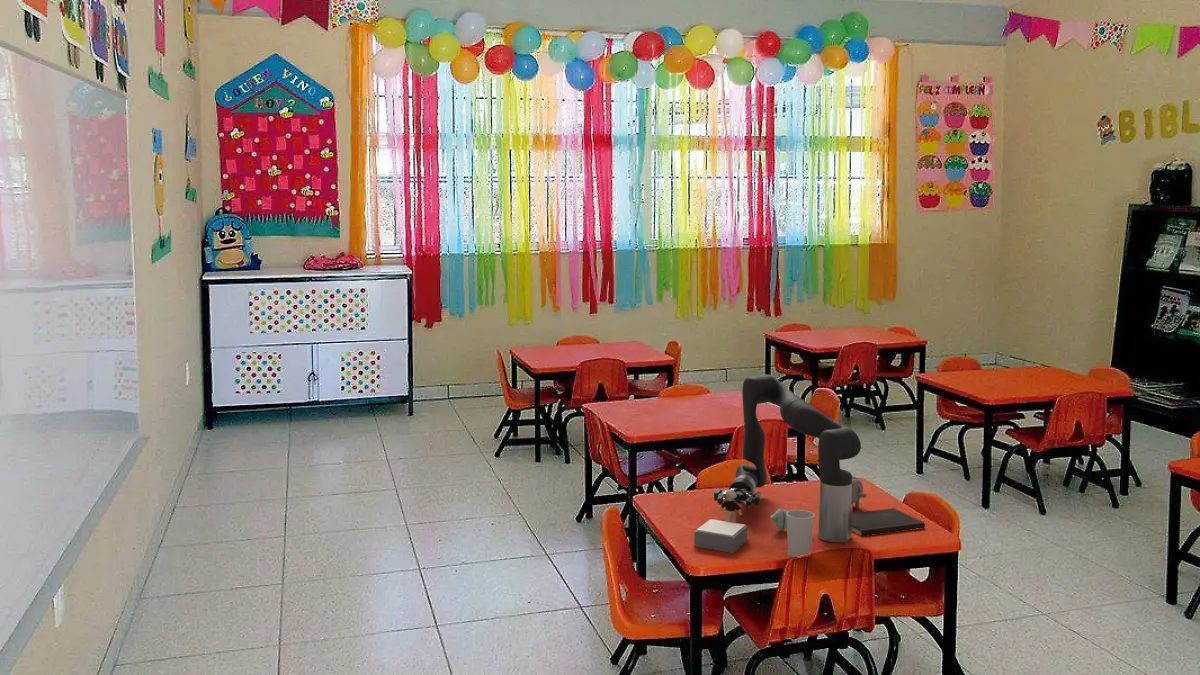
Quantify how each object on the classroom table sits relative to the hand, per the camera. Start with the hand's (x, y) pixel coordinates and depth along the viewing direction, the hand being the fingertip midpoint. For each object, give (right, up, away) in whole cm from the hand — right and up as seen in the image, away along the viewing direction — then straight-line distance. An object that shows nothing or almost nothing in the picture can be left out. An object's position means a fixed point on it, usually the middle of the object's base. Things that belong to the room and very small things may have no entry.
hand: (733, 502), depth 324 cm
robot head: (+14, -8, -4) cm, 17 cm away
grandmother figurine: (-2, -8, -4) cm, 9 cm away
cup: (+16, -11, -25) cm, 31 cm away
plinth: (-6, -9, -16) cm, 20 cm away
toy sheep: (+39, -5, +20) cm, 44 cm away
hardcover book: (+45, -8, +2) cm, 46 cm away
